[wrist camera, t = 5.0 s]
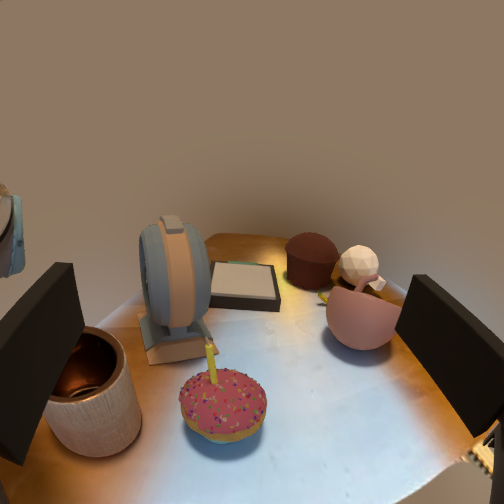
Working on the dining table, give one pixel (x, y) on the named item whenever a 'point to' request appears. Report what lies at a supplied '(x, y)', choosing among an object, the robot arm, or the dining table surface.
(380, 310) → the mortar and pestle
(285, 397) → the dining table surface
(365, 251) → the white geodesic ball
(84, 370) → the planter
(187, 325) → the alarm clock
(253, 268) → the scale
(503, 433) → the robot arm
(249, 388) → the cupcake
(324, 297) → the fruit
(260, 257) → the dining table surface
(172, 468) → the dining table surface
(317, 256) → the muffin
